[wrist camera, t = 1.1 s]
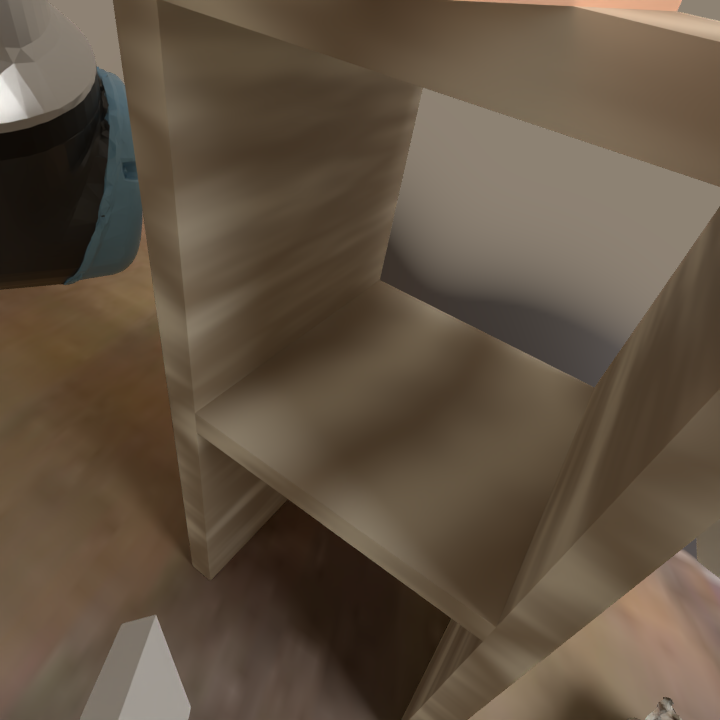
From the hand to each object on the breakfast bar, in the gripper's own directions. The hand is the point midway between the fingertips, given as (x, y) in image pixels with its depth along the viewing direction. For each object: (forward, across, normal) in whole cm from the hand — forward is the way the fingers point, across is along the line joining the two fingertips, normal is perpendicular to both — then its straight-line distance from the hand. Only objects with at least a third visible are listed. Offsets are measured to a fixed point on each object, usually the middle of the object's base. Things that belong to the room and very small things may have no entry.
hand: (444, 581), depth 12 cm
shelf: (+18, -2, -12) cm, 21 cm away
